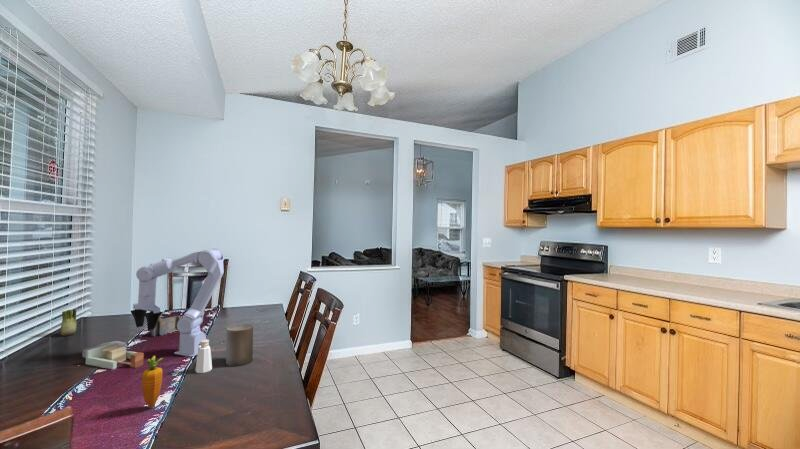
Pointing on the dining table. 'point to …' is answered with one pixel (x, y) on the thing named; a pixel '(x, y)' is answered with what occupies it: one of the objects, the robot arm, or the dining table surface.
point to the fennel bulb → (68, 322)
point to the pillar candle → (239, 344)
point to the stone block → (103, 345)
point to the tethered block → (123, 356)
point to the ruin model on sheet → (165, 325)
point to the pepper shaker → (204, 357)
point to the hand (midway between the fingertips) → (145, 328)
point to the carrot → (152, 382)
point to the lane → (96, 357)
